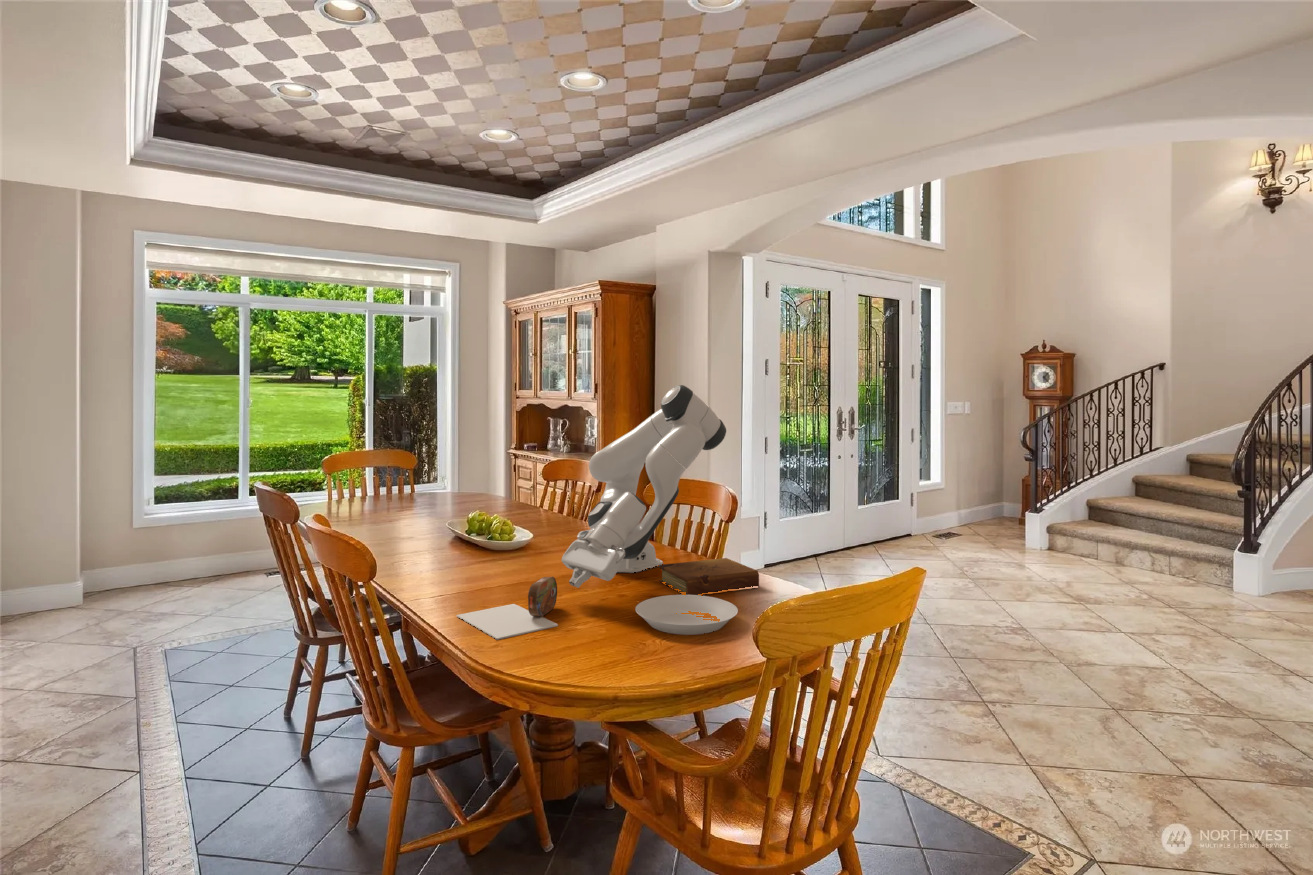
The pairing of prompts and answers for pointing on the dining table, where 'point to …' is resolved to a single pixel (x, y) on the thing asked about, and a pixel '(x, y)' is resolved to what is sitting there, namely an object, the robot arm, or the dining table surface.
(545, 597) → the tin
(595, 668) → the dining table surface
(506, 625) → the mat
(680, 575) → the diary
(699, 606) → the bowl
